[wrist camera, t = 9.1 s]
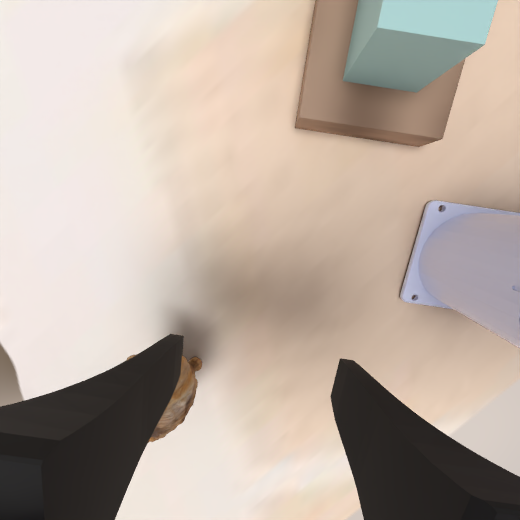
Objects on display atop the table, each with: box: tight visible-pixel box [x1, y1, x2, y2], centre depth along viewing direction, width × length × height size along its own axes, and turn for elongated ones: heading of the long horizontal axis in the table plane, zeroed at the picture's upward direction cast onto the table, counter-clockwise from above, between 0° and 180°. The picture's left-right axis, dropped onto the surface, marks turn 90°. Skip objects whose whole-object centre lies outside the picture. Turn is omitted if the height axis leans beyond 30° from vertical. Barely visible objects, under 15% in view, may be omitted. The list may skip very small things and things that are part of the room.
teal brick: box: [343, 0, 498, 93], centre depth 13 cm, size 4×4×5 cm
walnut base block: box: [295, 0, 465, 147], centre depth 16 cm, size 9×9×2 cm
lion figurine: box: [126, 354, 202, 442], centre depth 19 cm, size 15×5×9 cm, turn 146°
